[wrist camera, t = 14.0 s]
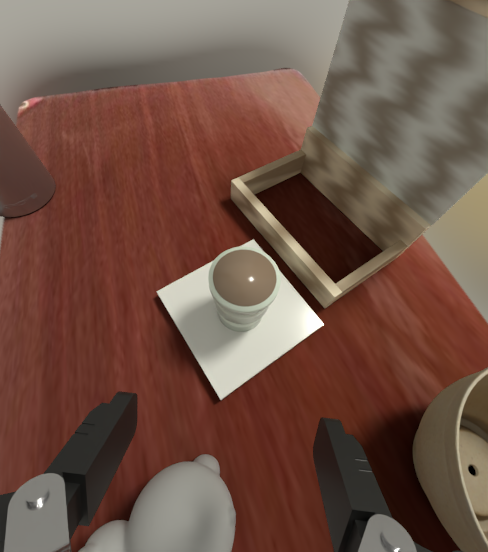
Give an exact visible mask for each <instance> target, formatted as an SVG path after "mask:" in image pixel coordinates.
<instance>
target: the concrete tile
mask: <svg viewBox="0 0 488 552" xmlns="http://www.w3.org/2000/svg"><path fill="white" fill-rule="evenodd" d="M240 247H252V248H256V249H258V250H261V251H263V250H262V249H261V248H260V246H259V245H258V244H257V243H256V242H255V240H254V239H253V240H251V241H249V242H247V243H246V244H244V245H242V246H240ZM263 252H264V251H263ZM264 253H265V252H264ZM212 263H213V261H212V262H210V263H209V264H207V265H205V266H203V267H201V268H199V269H197V270H196V271H194V272H192V273H190V274H188V275H186V276H184V277H183V278H181V279H179V280H177V281H175V282H173V283H171V284H170V285H168V286H166V287H164V288H162V289H160V290H158V291H157V293H158V295H159V297H160V299H161V300H162V302H163V304H164V305H165V307H166V309H167V311H168V312H169V314H170V316H171V317H172V319H173V321H174V322H175V324H176V326H177V327H178V329H179V331H180V332H181V334H182V336H183V338H184V339H185V341H186V343H187V344H188V346H189V348H190V349H191V351H192V353H193V354H194V356H195V358H196V360H197V361H198V363H199V365H200V366H201V368H202V370H203V371H204V373H205V375H206V376H207V378H208V380H209V381H210V383H211V385H212V387H213V388H214V390H215V392H216V393H217V395H218V397H219V398H220V400H222V399H224V398H225V397H226V396H228V395H229V394H231V393H232V392H233V391H235V390H236V389H237V388H239V387H240V386H241V385H243V384H244V383H246V382H247V381H248V380H250V379H251V378H252V377H254V376H255V375H256V374H258V373H259V372H261V371H262V370H263V369H265V368H266V367H267V366H269V365H270V364H272V363H273V362H274V361H276V360H277V359H278V358H280V357H281V356H282V355H284V354H285V353H287V352H288V351H289V350H291V349H292V348H293V347H295V346H296V345H297V344H299V343H300V342H302V341H303V340H304V339H306V338H307V337H308V336H310V335H311V334H313V333H314V332H315V331H317V330H318V329H319V328H321V327H322V326H323V325H324V323H323V322H322V321H321V320H320V319H319V317H318V316H317V315H316V314H315V313H314V311H313V310H312V309H311V308H310V307H309V305H308V304H307V303H306V302H305V301H304V299H303V298H302V297H301V296H300V295H299V293H298V292H297V291H296V290H295V289H294V287H293V286H292V285H291V284H290V283H289V281H288V280H287V279H286V278H285V277H284V275H283V274H282V273H281V272H280V276H281V284H280V288H279V291H278V293H277V296H276V298H275V300H274V301H273V302H272V304H271V305H270V306H269V308H268V310H267V312H266V313H265V314H264V315H263V317H262V319H261V321H260V323H259V324H258V325H257V326H256V327H255V328H253V329H251V330H249V331H245V332H237V331H233V330H230V329H228V328H227V327H226V326H224V325H223V324H222V322H221V321H220V319H219V317H218V314H217V309H216V307H215V304H214V298H213V297H212V294H211V292H210V288H209V280H208V275H209V270H210V267H211V265H212Z"/></svg>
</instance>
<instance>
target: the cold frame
mask: <svg viewBox="0 0 488 552" xmlns="http://www.w3.org/2000/svg"><path fill="white" fill-rule="evenodd" d="M299 173H301V174H302V175H303V176H305V177H306V178H307V179H308V180H309V181H310V182H311V183H312V184H313V185H314V186H315V187H316V188H317V189H318V190H319V191H320V192H321V193H322V194H323V195H324V196H326V197H327V198H328V199H329V200H330V201H331V202H332V203H333V204H334V205H335V206H336V207H337V208H338V209H339V210H340V211H341V212H342V213H343V214H344V215H345V216H347V217H348V218H349V219H350V220H351V221H352V222H353V223H354V224H355V225H356V226H357V227H358V228H359V229H360V230H361V231H362V232H363V233H364V234H365V235H366V236H368V237H369V238H370V239H371V240H372V241H373V242H374V243H375V244H376V245H377V246H378V247H379V248H380V249H381V250H382V251H383V252H382V253H380V254H379V255H377V256H376V257H374V258H373V259H371V260H370V261H368V262H367V263H365V264H364V265H362V266H361V267H360V268H358V269H357V270H355V271H354V272H352V273H351V274H349V275H348V276H346V277H345V278H343V279H342V280H340V281H339V282H337V283H336V284H335V283H334V282H333V281H332V280H331V279H330V278H329V277H328V276H327V274H326V273H325V272H324V271H323V270H322V269H321V268H320V267H319V266H318V265H317V263H316V262H315V261H314V260H313V259H312V258H311V257H310V256H309V255H308V254H307V252H306V251H305V250H304V249H303V248H302V247H301V246H300V245H299V244H298V243H297V241H296V240H295V239H294V238H293V237H292V236H291V235H290V234H289V233H288V232H287V230H286V229H285V228H284V227H283V226H282V225H281V224H280V223H279V222H278V220H277V219H276V218H275V217H274V216H273V215H272V214H271V213H270V212H269V211H268V209H267V208H266V207H265V206H264V205H263V204H262V203H261V202H260V201H259V200H258V198H257V197H256V196H255V194H257V193H259V192H261V191H263V190H265V189H267V188H269V187H272V186H274V185H276V184H278V183H280V182H282V181H284V180H286V179H288V178H290V177H292V176H295V175H297V174H299ZM487 173H488V0H350V1H349V4H348V7H347V10H346V14H345V17H344V21H343V24H342V27H341V31H340V34H339V38H338V41H337V44H336V48H335V51H334V54H333V58H332V61H331V64H330V68H329V71H328V75H327V78H326V81H325V85H324V88H323V91H322V95H321V98H320V102H319V105H318V108H317V112H316V115H315V118H314V122H313V125H312V126H311V127H308V128H307V130H306V134H305V137H304V141H303V144H302V148H301V150H299V151H297V152H294V153H292V154H290V155H288V156H285V157H283V158H281V159H279V160H276V161H274V162H272V163H270V164H267V165H265V166H263V167H261V168H258V169H256V170H254V171H252V172H249V173H247V174H245V175H243V176H240V177H238V178H236V179H234V180H231V199H232V201H233V202H234V203H235V204H236V205H237V207H238V208H239V209H240V210H241V211H242V212H243V214H244V215H245V216H246V217H247V218H248V219H249V221H250V222H251V223H252V224H253V225H254V226H255V228H256V229H257V230H258V231H259V232H260V233H261V235H262V236H263V237H264V238H265V239H266V240H267V242H268V243H269V244H270V245H271V246H272V248H273V249H274V250H275V251H276V252H277V253H278V255H279V256H280V257H281V258H282V259H283V260H284V262H285V263H286V264H287V265H288V266H289V267H290V269H291V270H292V271H293V272H294V273H295V274H296V276H297V277H298V278H299V279H300V280H301V281H302V283H303V284H304V285H305V286H306V287H307V289H308V290H309V291H310V292H311V293H312V294H313V296H314V297H315V298H316V299H317V300H318V301H319V303H320V304H321V305H322V306H323V307H324V308H326V307H328V306H329V305H331V304H332V303H333V302H335V301H336V300H338V299H339V298H341V297H342V296H343V295H345V294H346V293H348V292H349V291H350V290H352V289H353V288H355V287H356V286H358V285H359V284H360V283H362V282H363V281H365V280H366V279H367V278H369V277H370V276H372V275H373V274H374V273H376V272H377V271H379V270H380V269H382V268H383V267H384V266H386V265H387V264H389V263H390V262H391V261H393V260H394V259H396V258H397V257H398V256H400V255H401V254H402V253H403V252H404V251H405V250H406V249H407V248H408V247H409V246H410V245H411V244H412V243H413V242H414V241H416V240H417V239H418V238H419V237H420V236H421V235H422V234H423V233H424V232H425V231H426V230H427V229H428V228H429V227H430V226H431V225H433V224H434V223H435V222H436V221H437V220H438V219H439V218H440V217H441V216H442V215H443V214H445V213H446V211H447V210H449V209H450V208H451V207H452V206H453V205H454V204H455V203H456V202H457V201H458V200H459V199H460V198H462V197H463V196H464V195H465V194H466V193H467V192H468V191H469V190H470V189H471V188H472V187H473V186H474V185H475V184H476V183H478V182H479V181H480V180H481V179H482V178H483V177H484V176H485V175H486V174H487Z"/></svg>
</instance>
